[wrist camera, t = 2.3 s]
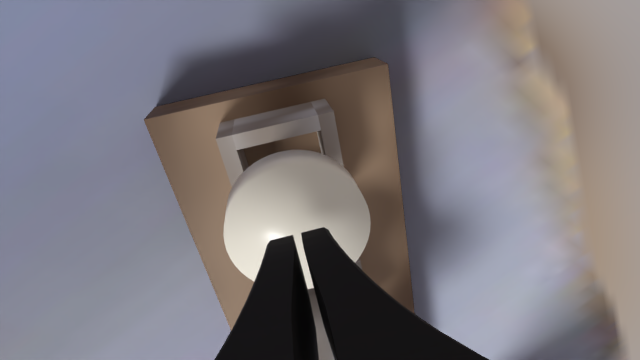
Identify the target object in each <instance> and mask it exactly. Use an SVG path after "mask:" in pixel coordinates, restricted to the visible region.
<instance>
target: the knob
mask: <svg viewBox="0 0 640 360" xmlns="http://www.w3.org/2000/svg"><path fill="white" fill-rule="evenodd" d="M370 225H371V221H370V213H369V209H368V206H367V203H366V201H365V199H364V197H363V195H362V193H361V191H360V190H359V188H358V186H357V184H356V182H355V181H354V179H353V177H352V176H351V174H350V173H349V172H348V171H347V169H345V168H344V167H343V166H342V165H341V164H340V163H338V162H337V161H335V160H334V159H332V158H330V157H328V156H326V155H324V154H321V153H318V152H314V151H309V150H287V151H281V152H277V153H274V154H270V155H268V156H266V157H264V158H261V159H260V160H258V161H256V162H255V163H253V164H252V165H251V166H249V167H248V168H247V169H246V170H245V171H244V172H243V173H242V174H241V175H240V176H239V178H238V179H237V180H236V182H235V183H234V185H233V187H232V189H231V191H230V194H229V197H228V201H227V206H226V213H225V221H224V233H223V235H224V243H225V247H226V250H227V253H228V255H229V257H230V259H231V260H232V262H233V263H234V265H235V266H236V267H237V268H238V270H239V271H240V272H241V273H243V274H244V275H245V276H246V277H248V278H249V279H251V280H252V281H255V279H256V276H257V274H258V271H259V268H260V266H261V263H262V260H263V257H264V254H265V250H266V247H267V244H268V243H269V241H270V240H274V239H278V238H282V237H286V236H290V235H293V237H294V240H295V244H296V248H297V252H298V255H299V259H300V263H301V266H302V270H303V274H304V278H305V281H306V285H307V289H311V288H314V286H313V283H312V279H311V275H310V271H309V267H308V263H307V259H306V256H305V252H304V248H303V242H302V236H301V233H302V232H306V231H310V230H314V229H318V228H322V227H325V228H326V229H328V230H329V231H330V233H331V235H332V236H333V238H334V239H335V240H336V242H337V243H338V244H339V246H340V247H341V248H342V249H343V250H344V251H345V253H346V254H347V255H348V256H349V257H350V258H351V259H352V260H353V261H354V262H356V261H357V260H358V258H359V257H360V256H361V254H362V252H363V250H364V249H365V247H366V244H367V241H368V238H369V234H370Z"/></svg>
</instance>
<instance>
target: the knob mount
mask: <svg viewBox="0 0 640 360" xmlns="http://www.w3.org/2000/svg"><path fill="white" fill-rule="evenodd" d="M144 121H145V124H146V126H147V129H148V131H149V134H150V136H151V138H152V141H153V143H154V146H155V148H156V150H157V153H158V155H159V158H160V160H161V162H162V165H163V167H164V170H165V172H166V174H167V177H168V179H169V182H170V184H171V187H172V189H173V191H174V194H175V196H176V199H177V201H178V203H179V206H180V208H181V211H182V213H183V215H184V218H185V220H186V223H187V225H188V227H189V230H190V232H191V235H192V237H193V240H194V242H195V244H196V247H197V249H198V252H199V254H200V256H201V259H202V261H203V264H204V266H205V268H206V271H207V273H208V276H209V278H210V280H211V283H212V285H213V288H214V290H215V293H216V295H217V297H218V300H219V302H220V305H221V307H222V309H223V312H224V314H225V317H226V319H227V321H228V324H229V326H230V329H231V330H232V328H233V326H234V324H235V322H236V320H237V318H238V316H239V314H240V312H241V310H242V308H243V306H244V304H245V302H246V300H247V298H248V295H249V293H250V291H251V288H252V286H253V284H254V281H252V280H251V279H249V278H248V277H246V276H245V275H244V274H243V273H241V272H240V271H239V270H238V268H237V267H236V266H235V265H234V263H233V262H232V260H231V259H230V257H229V255H228V253H227V250H226V247H225V243H224V235H223V233H224V221H225V213H226V206H227V201H228V197H229V194H230V191H231V189H232V187H233V185H234V183H235V182H236V180H237V179H238V178H239V176H240V175H241V174H242V173H243V172H244V171H245V170H246V169H247V168H248V167H249V166H251V165H252V164H253V163H255V162H256V161H258V160H260V159H261V158H264V157H266V156H268V155H270V154H274V153H277V152H281V151H287V150H309V151H314V152H318V153H321V154H324V155H326V156H328V157H330V158H332V159H334V160H335V161H337V162H338V163H340V164H341V165H342V166H343V167H344V168H345V169H347V171H348V172H349V173H350V174H351V176H352V177H353V179H354V181H355V182H356V184H357V186H358V188H359V190H360V191H361V193H362V195H363V197H364V199H365V201H366V203H367V206H368V209H369V213H370V221H371V225H370V234H369V238H368V241H367V244H366V247H365V249H364V250H363V252H362V254H361V256H360V257H359V258H358V260H357V261H356V262H355V263H356V264H357V265H358V266H359V267H360V268H361V269H362V271H363V272H364V273H365V274H367V275H368V276H369V277H370V278H371V279H372V280H373V281H374V282H375V283H376V284H377V285H379V286H380V287H381V288H382V289H383V290H384V291H385V292H387V293H388V294H389V295H390V296H392V297H393V298H394V299H395V300H396V301H398V302H399V303H400V304H402V305H403V306H404V307H406V308H407V309H408V310H410V311H411V312H412V313H414V303H413V294H412V284H411V275H410V266H409V256H408V247H407V238H406V228H405V219H404V210H403V200H402V191H401V182H400V172H399V163H398V154H397V144H396V135H395V126H394V116H393V107H392V97H391V88H390V79H389V69H388V64H387V63H385V62H383V61H381V60H379V59H377V58H375V57H373V58H369V59H364V60H360V61H355V62H351V63H347V64H342V65H338V66H333V67H329V68H324V69H320V70H316V71H311V72H307V73H302V74H298V75H294V76H289V77H285V78H280V79H276V80H271V81H267V82H263V83H258V84H254V85H249V86H245V87H240V88H236V89H232V90H227V91H223V92H218V93H214V94H210V95H205V96H201V97H196V98H192V99H187V100H183V101H179V102H174V103H170V104H165V105H161V106H157V107H155V108H154V109H153V110H152V111H151V112H150V113H149V114H148V116H147V117H146V118H145V119H144ZM308 292H309V297H310V302H311V307H312V312H313V316H314V321H315V326H316V334H317V344H318V355H319V360H335V359H334V356H333V353H332V350H331V347H330V344H329V341H328V338H327V335H326V332H325V328H324V325H323V321H322V317H321V313H320V310H319V306H318V302H317V298H316V294H315V290H314V288H311V289H308ZM414 314H415V313H414Z"/></svg>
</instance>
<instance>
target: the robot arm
mask: <svg viewBox="0 0 640 360" xmlns="http://www.w3.org/2000/svg"><path fill="white" fill-rule="evenodd" d="M301 236H302V242H303V248H304V252H305V256H306V259H307V263H308V267H309V271H310V275H311V279H312V283H313V286H314V290H315V294H316V298H317V302H318V306H319V310H320V313H321V317H322V321H323V325H324V328H325V332H326V335H327V338H328V341H329V344H330V347H331V350H332V353H333V356H334V359H335V360H489V359H487V358H485V357H483V356H481V355H480V354H478V353H476V352H474V351H473V350H471V349H469V348H468V347H466V346H464V345H463V344H461V343H459V342H457V341H456V340H454V339H452V338H451V337H449V336H447V335H445V334H444V333H442V332H440V331H439V330H437V329H436V328H434V327H433V326H431V325H430V324H428V323H427V322H425V321H424V320H422V319H421V318H419V317H418V316H417V315H415V314H414V313H412V312H411V311H410V310H408V309H407V308H406V307H404V306H403V305H402V304H400V303H399V302H398V301H396V300H395V299H394V298H393V297H392V296H390V295H389V294H388V293H387V292H385V291H384V290H383V289H382V288H381V287H380V286H379V285H377V284H376V283H375V282H374V281H373V280H372V279H371V278H370V277H369V276H368V275H367V274H365V273H364V272H363V271H362V269H361V268H360V267H359V266H358V265H357V264H356V263H355V262H354V261H353V260H352V259H351V258H350V257H349V256H348V255H347V254H346V253H345V251H344V250H343V249H342V248H341V247H340V246H339V244H338V243H337V242H336V240H335V239H334V238H333V236H332V235H331V233H330V231H329V230H328V229H326V228H325V227H322V228H318V229H314V230H310V231H306V232H302V233H301ZM215 360H319V355H318V344H317V334H316V326H315V321H314V316H313V312H312V307H311V302H310V297H309V292H308V289H307V285H306V281H305V278H304V274H303V270H302V266H301V263H300V259H299V255H298V252H297V248H296V244H295V240H294V237H293V235H290V236H286V237H282V238H278V239H274V240H270V241H269V243H268V244H267V247H266V250H265V254H264V257H263V260H262V263H261V266H260V268H259V271H258V274H257V276H256V279H255V281H254V284H253V286H252V288H251V291H250V293H249V295H248V298H247V300H246V302H245V304H244V306H243V308H242V310H241V312H240V314H239V316H238V318H237V320H236V322H235V324H234V326H233V328H232V330H231V332H230V334H229V336H228V338H227V339H226V341H225V343H224V345H223V346H222V348H221V350H220V352H219V353H218V355H217V357H216V358H215Z"/></svg>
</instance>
